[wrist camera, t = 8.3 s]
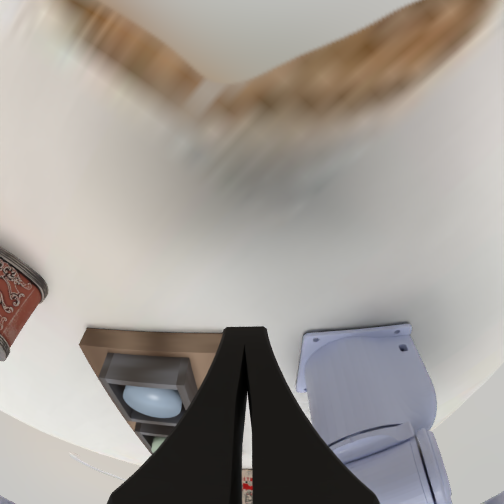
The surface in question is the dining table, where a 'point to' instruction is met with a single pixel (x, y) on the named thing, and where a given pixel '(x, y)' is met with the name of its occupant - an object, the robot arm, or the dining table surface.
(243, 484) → the teacup with lid
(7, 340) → the lighter
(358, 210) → the dining table surface
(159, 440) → the button sage
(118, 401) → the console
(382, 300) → the dining table surface
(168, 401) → the button slate
